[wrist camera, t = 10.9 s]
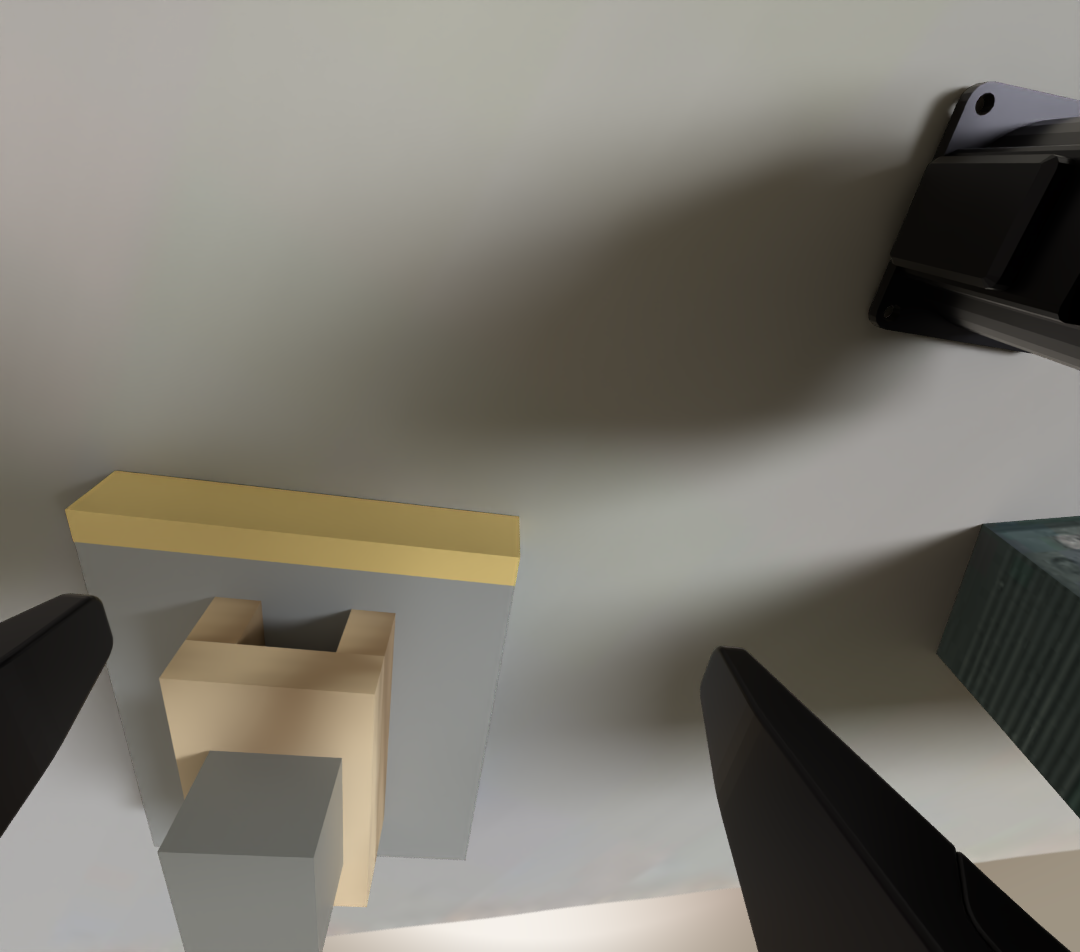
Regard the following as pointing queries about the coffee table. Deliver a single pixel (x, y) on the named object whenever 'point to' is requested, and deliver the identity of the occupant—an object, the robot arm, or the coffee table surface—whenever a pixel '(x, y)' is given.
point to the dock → (310, 621)
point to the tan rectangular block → (290, 712)
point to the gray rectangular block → (256, 853)
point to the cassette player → (1024, 641)
